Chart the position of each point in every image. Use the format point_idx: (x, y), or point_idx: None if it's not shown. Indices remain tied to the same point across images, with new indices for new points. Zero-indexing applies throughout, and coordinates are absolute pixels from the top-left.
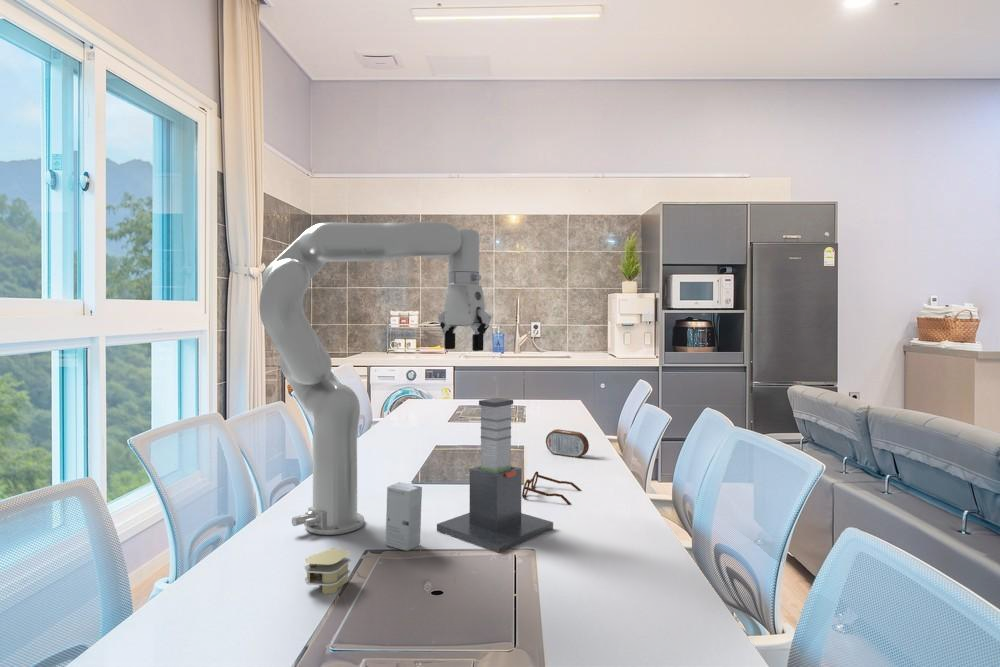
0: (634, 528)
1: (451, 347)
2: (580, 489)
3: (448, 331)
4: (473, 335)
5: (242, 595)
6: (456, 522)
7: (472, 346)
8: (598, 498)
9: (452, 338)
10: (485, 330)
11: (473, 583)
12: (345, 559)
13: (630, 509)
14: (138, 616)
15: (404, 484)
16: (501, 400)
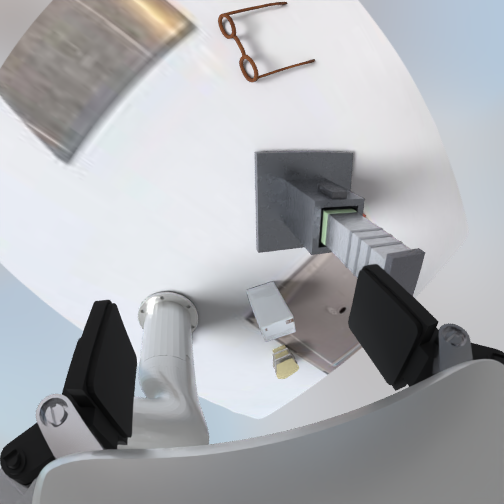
0: (401, 98)
1: (125, 335)
2: (285, 2)
3: (116, 446)
4: (396, 383)
5: (252, 385)
6: (271, 233)
7: (357, 339)
8: (324, 21)
9: (112, 377)
10: (471, 346)
11: (354, 286)
12: (288, 356)
13: (372, 42)
14: (237, 412)
15: (274, 328)
16: (412, 275)
